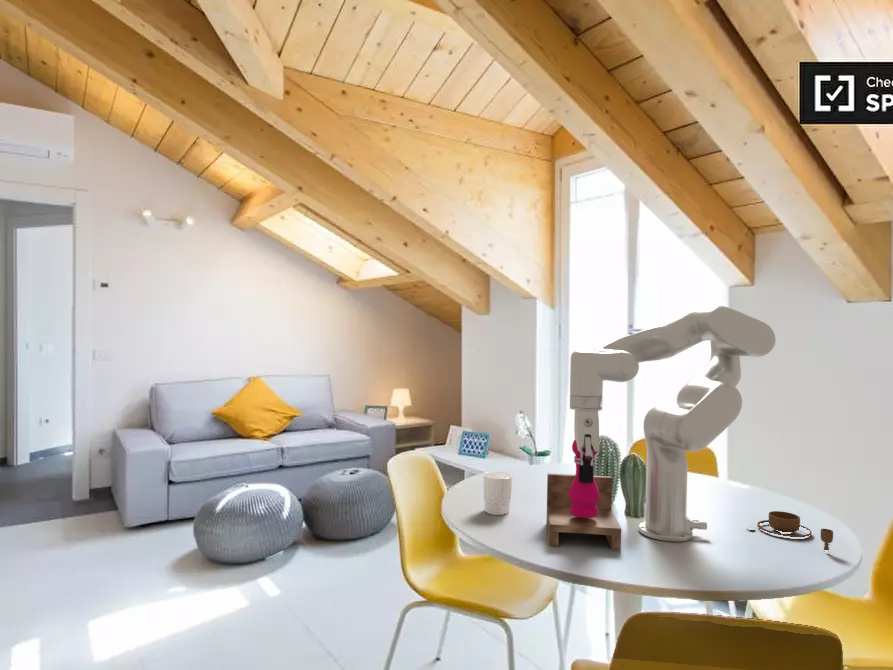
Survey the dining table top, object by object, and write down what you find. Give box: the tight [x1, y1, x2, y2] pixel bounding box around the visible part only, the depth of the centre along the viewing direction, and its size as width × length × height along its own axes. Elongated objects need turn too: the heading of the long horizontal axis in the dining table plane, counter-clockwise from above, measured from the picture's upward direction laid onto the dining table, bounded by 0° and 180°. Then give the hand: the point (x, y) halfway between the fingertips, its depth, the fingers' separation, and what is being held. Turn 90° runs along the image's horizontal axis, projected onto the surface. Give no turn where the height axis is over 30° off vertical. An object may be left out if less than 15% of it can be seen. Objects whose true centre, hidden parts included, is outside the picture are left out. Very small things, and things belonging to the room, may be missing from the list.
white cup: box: [482, 471, 513, 516], centre depth 162 cm, size 8×8×10 cm
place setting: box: [757, 510, 834, 551], centre depth 146 cm, size 18×20×6 cm
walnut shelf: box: [545, 472, 622, 551], centre depth 144 cm, size 16×16×13 cm
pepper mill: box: [569, 439, 600, 518], centre depth 140 cm, size 7×7×20 cm
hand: (584, 478), depth 141 cm, fingers closed on pepper mill, 5 cm apart
